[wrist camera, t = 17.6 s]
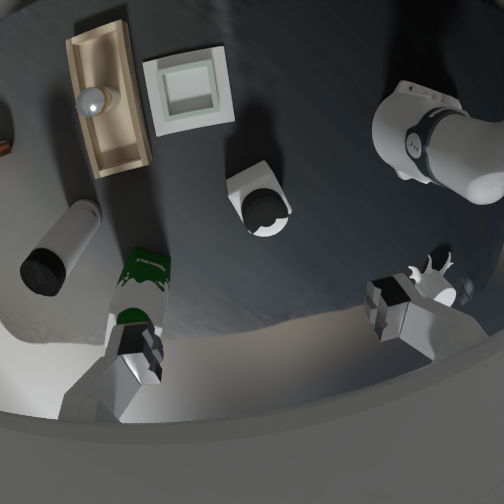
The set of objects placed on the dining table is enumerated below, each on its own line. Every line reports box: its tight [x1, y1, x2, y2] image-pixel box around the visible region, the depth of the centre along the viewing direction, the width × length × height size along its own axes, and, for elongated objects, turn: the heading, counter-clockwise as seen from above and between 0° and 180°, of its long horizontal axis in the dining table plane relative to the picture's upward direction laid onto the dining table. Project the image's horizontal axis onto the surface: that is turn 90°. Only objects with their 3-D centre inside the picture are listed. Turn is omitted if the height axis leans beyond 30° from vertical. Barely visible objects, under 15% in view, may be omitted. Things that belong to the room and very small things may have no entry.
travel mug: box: [20, 199, 102, 297], centre depth 39 cm, size 6×7×20 cm
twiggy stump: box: [409, 252, 456, 307], centre depth 63 cm, size 20×19×8 cm
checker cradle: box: [143, 46, 235, 136], centre depth 38 cm, size 12×12×3 cm
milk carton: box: [104, 247, 171, 348], centre depth 46 cm, size 9×9×20 cm
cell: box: [76, 86, 121, 117], centre depth 34 cm, size 4×4×8 cm
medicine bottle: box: [226, 161, 292, 236], centre depth 44 cm, size 7×7×12 cm
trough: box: [66, 20, 153, 179], centre depth 37 cm, size 9×23×4 cm, turn 7°
